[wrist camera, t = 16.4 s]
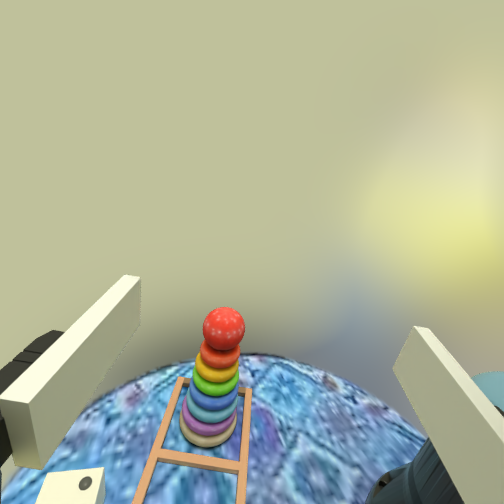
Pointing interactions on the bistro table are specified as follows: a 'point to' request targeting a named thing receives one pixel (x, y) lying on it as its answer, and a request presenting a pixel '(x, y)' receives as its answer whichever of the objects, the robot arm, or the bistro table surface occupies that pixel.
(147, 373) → the bistro table surface
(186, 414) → the stacking toy
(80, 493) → the die
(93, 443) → the bistro table surface
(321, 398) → the bistro table surface
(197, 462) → the ladder
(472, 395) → the robot arm
